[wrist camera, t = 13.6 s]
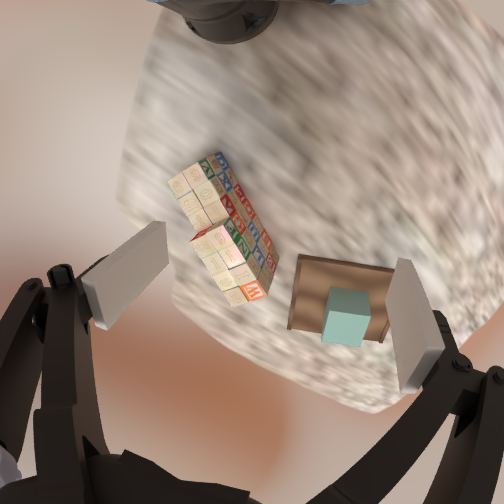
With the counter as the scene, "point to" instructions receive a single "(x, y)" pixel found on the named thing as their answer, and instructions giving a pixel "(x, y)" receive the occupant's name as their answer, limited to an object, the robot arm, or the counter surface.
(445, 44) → the counter surface
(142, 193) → the counter surface
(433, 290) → the counter surface
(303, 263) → the board
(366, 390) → the counter surface
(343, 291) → the cube
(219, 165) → the stack of blocks
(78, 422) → the robot arm
